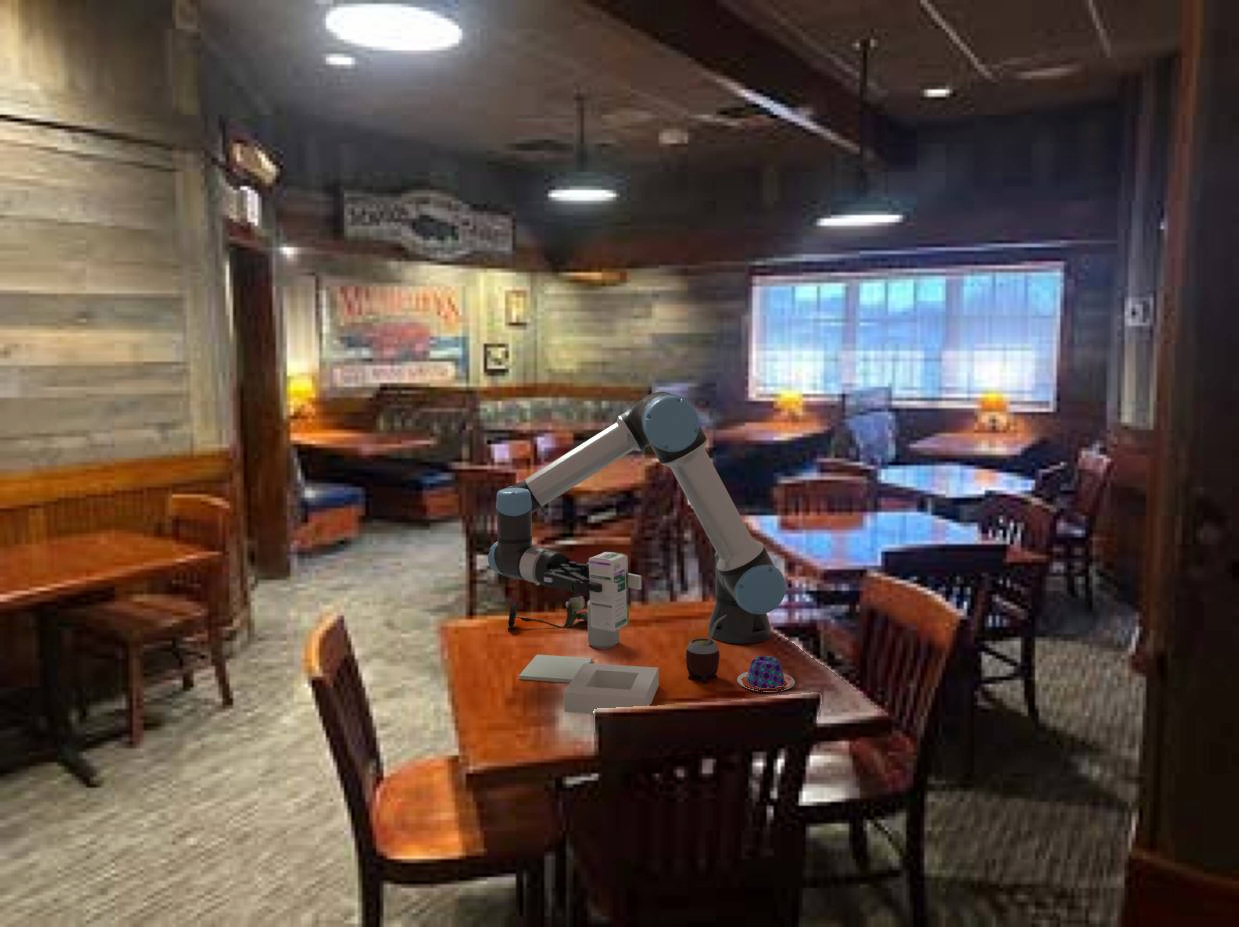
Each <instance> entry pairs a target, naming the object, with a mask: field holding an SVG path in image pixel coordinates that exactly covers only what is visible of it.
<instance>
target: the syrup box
mask: <svg viewBox="0 0 1239 927" xmlns="http://www.w3.org/2000/svg"><path fill="white" fill-rule="evenodd" d="M588 561H589V581H590V578H596V579H600V580H605V581H609V582H613V583H618V597H616V598H613V597H609V596H605V595H601V594H597V593H593V592H590V591H589V600H590V616H591V627H592V628H596V629H601V630H606V631H612V632H615V631H616V630H618V629H619V630H620V629H621V628H624V627H626V626H627V625H630V609H629V608H630V606H629V605H630V604H629V587H628V573H629V571H628V570H629V569H628V555H627V554H625V553H621V552H613V551H610V552H609V551H604V552H602V553H600V554H597V555H595V556H592V557H589V558H588Z"/></svg>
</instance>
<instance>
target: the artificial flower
mask: <svg viewBox="0 0 1239 927" xmlns="http://www.w3.org/2000/svg"><path fill="white" fill-rule="evenodd" d="M585 605H586V601H585V598H584V596H581V595H580V596H578V597H570V598H569V600H568V601H565V608H566V619H565V623H564V625H563V626H561V625H558V624H554V623H550V622H548V621H544V620H541V619H535V618H528V617H519V616H517V612H518V604H517V603H513V602H512V603H511V606H510V611H509V615H508V623H507V624H508V627H507V630H514V626H515V624H516V622H515V621H516V619H521V621H523V622H536V623H537V622H538V623H541V624H542V623H544V624H546V625H549V626H552V627H555V628H557V629H565V628H567V627H570V626H573V625H574V623H575V622H576V620H578V621H579V620H582V621H585V622H588V611H586V610H585V611H584V610H583V611H581V610H582V609H583V608H584V607H585Z"/></svg>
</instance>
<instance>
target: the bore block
mask: <svg viewBox="0 0 1239 927" xmlns="http://www.w3.org/2000/svg"><path fill="white" fill-rule="evenodd" d="M658 689H659V667H650V666H636V665H621V664H607V663H604V664H603V663H593V662H592V663H583V665H582V666H581V668H580V669H579V671H578V672H577V674H576V675H575V677H574V678H573V679H572V681H571V682H570V683H569V684H568V685H567V687H566V688H565V690H563V712H564V713H574V714H589V715H594V714H593V711H594V709H597V708H616V707H633V706H647V705H650V704H651V705H652V702H653V700H654V698H655V697H656V696H655V695H656V694H657V691H658ZM651 705H650V706H651Z"/></svg>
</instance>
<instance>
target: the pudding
mask: <svg viewBox="0 0 1239 927" xmlns="http://www.w3.org/2000/svg"><path fill="white" fill-rule="evenodd" d="M747 675H748V676H747ZM746 676H747V682H749V683H748V684H750V685H752V686H757V687H759V688H767V687H769V688H775V687H777V686H783V685H784V684H785V683H786V682H785V679H784V676H786V677H789V678H790V679H791V685H790V686H789V687H788V688H786V689H784V690H781V691H780V692H783V691H785V690H789V689H791V688H793V687H794V686H795V684H796V682H795V679H794V678H793V676H791V675H789V674H787V673H784V672H783V667H782V664H781V660H780V659H778V658H777V657H774V656H768V655H762V656H756V657H755V658H753V659H752V660H751V662H750V666H749V669H748V671H746V672H743V673H741V674H740V675H738V677H737V679H736V681H737V683H738V684H739V685H740V686H741V687H744V688H746V689H749V690H752V691H757V692H759V691H758V690H754V689H750V688H747V687H745V686H744V685H743V682H742V680H741V679H742V678H743V677H746ZM747 682H746V683H747ZM784 682H785V683H784ZM748 684H747V685H748ZM763 692H766V693H772V692H773V693H776V692H777V691H763ZM763 692H762V693H763Z"/></svg>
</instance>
